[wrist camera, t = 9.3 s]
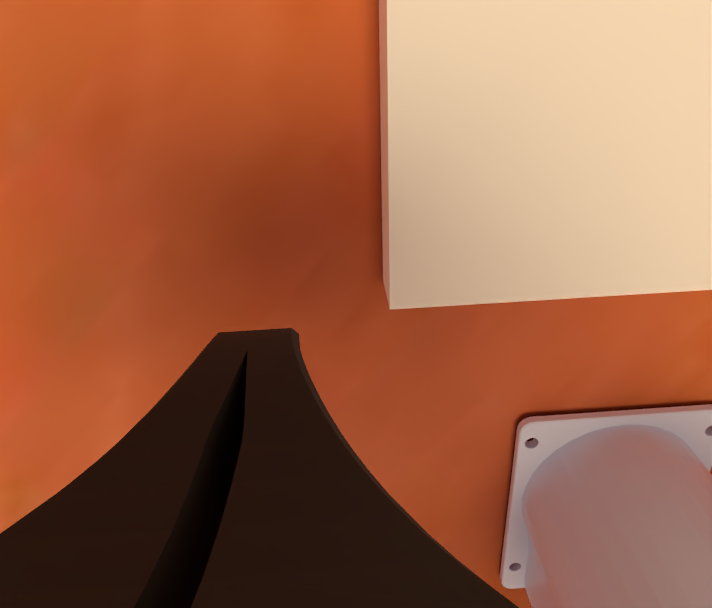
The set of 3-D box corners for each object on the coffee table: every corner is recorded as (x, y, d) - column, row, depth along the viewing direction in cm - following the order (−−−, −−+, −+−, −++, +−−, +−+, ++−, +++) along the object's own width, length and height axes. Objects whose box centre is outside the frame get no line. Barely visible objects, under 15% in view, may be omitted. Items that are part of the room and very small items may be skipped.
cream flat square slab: (795, 255, 21) (839, 282, 19) (383, 279, 20) (389, 309, 19) (985, -305, 14) (1081, -344, 12) (374, -291, 14) (383, -328, 12)
